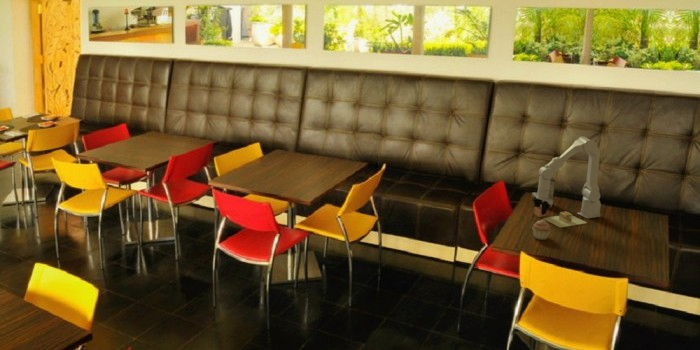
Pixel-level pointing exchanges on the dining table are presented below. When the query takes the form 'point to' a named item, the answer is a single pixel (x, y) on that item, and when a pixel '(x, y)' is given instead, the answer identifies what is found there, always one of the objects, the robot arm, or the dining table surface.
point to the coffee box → (551, 190)
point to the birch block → (565, 216)
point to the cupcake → (541, 230)
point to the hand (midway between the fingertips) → (540, 212)
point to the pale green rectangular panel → (560, 223)
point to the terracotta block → (538, 212)
